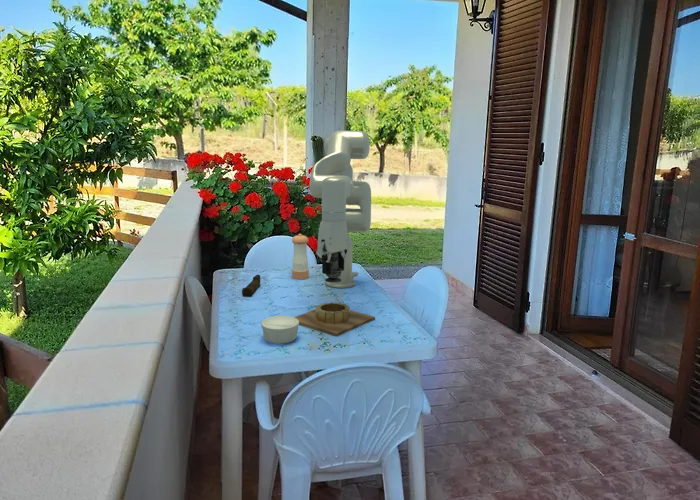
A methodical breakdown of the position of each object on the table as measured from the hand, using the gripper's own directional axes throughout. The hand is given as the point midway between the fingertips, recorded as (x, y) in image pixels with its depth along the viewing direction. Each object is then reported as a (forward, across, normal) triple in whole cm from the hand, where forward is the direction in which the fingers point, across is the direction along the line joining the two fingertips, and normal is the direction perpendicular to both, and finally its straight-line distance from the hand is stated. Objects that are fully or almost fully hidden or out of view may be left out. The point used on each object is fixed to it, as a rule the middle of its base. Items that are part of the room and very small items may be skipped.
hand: (333, 271), depth 167 cm
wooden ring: (+17, 0, 0) cm, 17 cm away
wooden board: (+17, 0, 0) cm, 17 cm away
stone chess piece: (+3, 0, 0) cm, 3 cm away
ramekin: (+17, +22, -2) cm, 28 cm away
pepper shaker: (+17, -33, -46) cm, 59 cm away
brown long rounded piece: (+17, -7, -47) cm, 51 cm away
